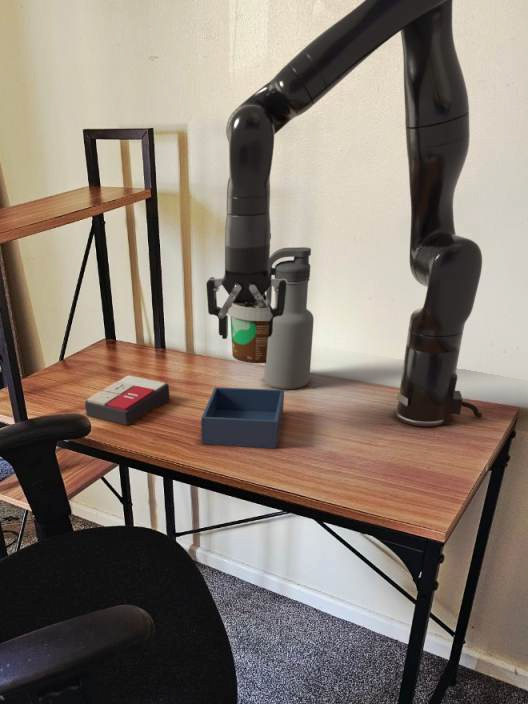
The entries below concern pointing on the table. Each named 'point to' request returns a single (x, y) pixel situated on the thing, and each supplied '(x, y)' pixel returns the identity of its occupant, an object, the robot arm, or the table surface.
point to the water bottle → (290, 323)
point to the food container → (249, 332)
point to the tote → (243, 417)
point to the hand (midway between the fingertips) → (245, 338)
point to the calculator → (127, 399)
